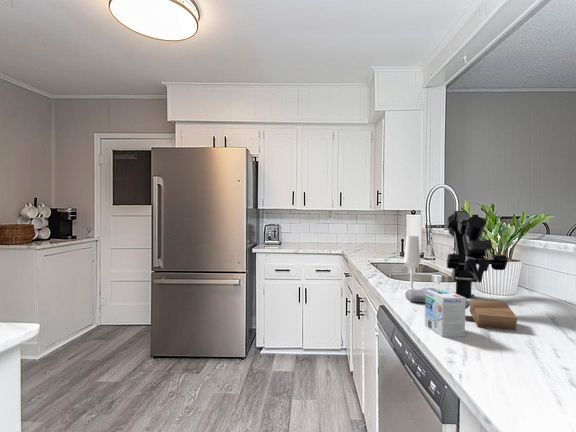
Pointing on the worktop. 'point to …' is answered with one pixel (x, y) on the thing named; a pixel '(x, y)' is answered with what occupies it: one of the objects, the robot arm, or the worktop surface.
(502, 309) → the light brown wooden block
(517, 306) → the worktop surface
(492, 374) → the worktop surface
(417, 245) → the champagne flute
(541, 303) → the worktop surface
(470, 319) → the grey rectangular bar
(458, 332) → the light bulb box
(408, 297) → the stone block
